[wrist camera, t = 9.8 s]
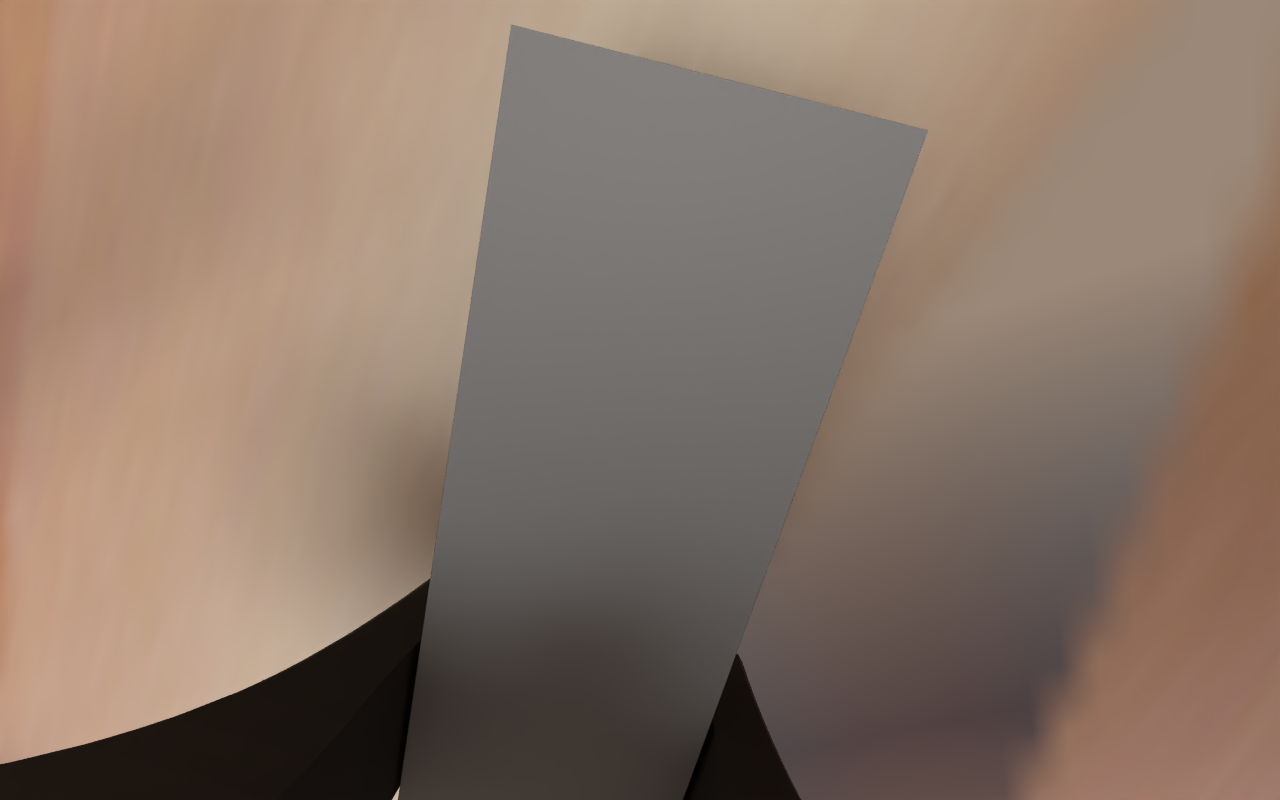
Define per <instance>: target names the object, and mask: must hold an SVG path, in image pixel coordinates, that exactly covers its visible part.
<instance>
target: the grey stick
mask: <svg viewBox="0 0 1280 800" xmlns="http://www.w3.org/2000/svg"><path fill="white" fill-rule="evenodd" d="M927 131H928V130H924V129H920V128H916V127H912V126H909V125H905V124H901V123H897V122H893V121H889V120H885V119H881V118H877V117H873V116H869V115H865V114H861V113H857V112H853V111H849V110H845V109H842V108H838V107H834V106H830V105H826V104H822V103H818V102H814V101H810V100H806V99H802V98H798V97H794V96H790V95H786V94H782V93H778V92H775V91H771V90H767V89H763V88H759V87H755V86H751V85H747V84H743V83H739V82H735V81H731V80H727V79H723V78H719V77H715V76H712V75H708V74H704V73H700V72H696V71H692V70H688V69H684V68H680V67H676V66H672V65H668V64H664V63H660V62H656V61H652V60H648V59H645V58H641V57H637V56H633V55H629V54H625V53H621V52H617V51H613V50H609V49H605V48H601V47H597V46H593V45H589V44H585V43H581V42H578V41H574V40H570V39H566V38H562V37H558V36H554V35H550V34H546V33H542V32H538V31H534V30H530V29H526V28H522V27H518V26H514V25H511V30H510V37H509V44H508V51H507V58H506V65H505V71H504V78H503V85H502V92H501V99H500V106H499V112H498V119H497V126H496V133H495V140H494V147H493V154H492V160H491V167H490V174H489V181H488V188H487V195H486V201H485V208H484V215H483V222H482V229H481V236H480V242H479V249H478V256H477V263H476V270H475V277H474V283H473V290H472V297H471V304H470V311H469V318H468V325H467V331H466V338H465V345H464V352H463V359H462V366H461V372H460V379H459V386H458V393H457V400H456V407H455V413H454V420H453V427H452V434H451V441H450V448H449V455H448V461H447V468H446V475H445V482H444V489H443V496H442V502H441V509H440V516H439V523H438V530H437V537H436V543H435V550H434V557H433V564H432V571H431V578H430V585H429V591H428V598H427V605H426V612H425V619H424V626H423V632H422V639H421V646H420V653H419V660H418V667H417V673H416V680H415V687H414V694H413V701H412V708H411V715H410V721H409V728H408V735H407V742H406V749H405V756H404V762H403V769H402V776H401V783H400V790H399V797H398V800H683V798H684V795H685V792H686V789H687V787H688V784H689V781H690V779H691V776H692V773H693V770H694V768H695V765H696V762H697V759H698V757H699V754H700V751H701V749H702V746H703V743H704V740H705V738H706V735H707V732H708V729H709V727H710V724H711V721H712V718H713V716H714V713H715V710H716V708H717V705H718V702H719V699H720V697H721V694H722V691H723V688H724V686H725V683H726V680H727V678H728V675H729V672H730V669H731V667H732V664H733V661H734V658H735V656H736V653H737V650H738V647H739V645H740V642H741V639H742V637H743V634H744V631H745V628H746V626H747V623H748V620H749V617H750V615H751V612H752V609H753V607H754V604H755V601H756V598H757V596H758V593H759V590H760V587H761V585H762V582H763V579H764V576H765V574H766V571H767V568H768V566H769V563H770V560H771V557H772V555H773V552H774V549H775V546H776V544H777V541H778V538H779V536H780V533H781V530H782V527H783V525H784V522H785V519H786V516H787V514H788V511H789V508H790V505H791V503H792V500H793V497H794V495H795V492H796V489H797V486H798V484H799V481H800V478H801V475H802V473H803V470H804V467H805V465H806V462H807V459H808V456H809V454H810V451H811V448H812V445H813V443H814V440H815V437H816V434H817V432H818V429H819V426H820V424H821V421H822V418H823V415H824V413H825V410H826V407H827V404H828V402H829V399H830V396H831V393H832V391H833V388H834V385H835V383H836V380H837V377H838V374H839V372H840V369H841V366H842V363H843V361H844V358H845V355H846V353H847V350H848V347H849V344H850V342H851V339H852V336H853V333H854V331H855V328H856V325H857V322H858V320H859V317H860V314H861V312H862V309H863V306H864V303H865V301H866V298H867V295H868V292H869V290H870V287H871V284H872V282H873V279H874V276H875V273H876V271H877V268H878V265H879V262H880V260H881V257H882V254H883V251H884V249H885V246H886V243H887V241H888V238H889V235H890V232H891V230H892V227H893V224H894V221H895V219H896V216H897V213H898V211H899V208H900V205H901V202H902V200H903V197H904V194H905V191H906V189H907V186H908V183H909V180H910V178H911V175H912V172H913V170H914V167H915V164H916V161H917V159H918V156H919V153H920V150H921V148H922V145H923V142H924V140H925V137H926V134H927Z"/></svg>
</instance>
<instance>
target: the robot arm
mask: <svg viewBox="0 0 1280 800" xmlns="http://www.w3.org/2000/svg"><path fill="white" fill-rule="evenodd" d="M429 585H430V579H429V580H427V581H426V582H425V583H423V584H422V585H421V586H419V587H418V588H416V589H415V590H414V591H412V592H411V593H409V594H408V595H407V596H405V597H404V598H402V599H401V600H399V601H398V602H397V603H395V604H394V605H392V606H391V607H389V608H388V609H386V610H385V611H383V612H382V613H380V614H379V615H377V616H376V617H374V618H373V619H371V620H370V621H368V622H367V623H365V624H363V625H362V626H360V627H359V628H357V629H356V630H354V631H353V632H351V633H349V634H348V635H346V636H344V637H343V638H341V639H339V640H338V641H336V642H334V643H332V644H331V645H329V646H327V647H325V648H324V649H322V650H320V651H319V652H317V653H315V654H313V655H312V656H310V657H308V658H306V659H305V660H303V661H301V662H299V663H297V664H295V665H293V666H291V667H289V668H288V669H286V670H284V671H282V672H280V673H278V674H276V675H274V676H272V677H269V678H267V679H265V680H263V681H261V682H259V683H257V684H255V685H253V686H250V687H248V688H246V689H244V690H241V691H239V692H237V693H234V694H232V695H229V696H227V697H224V698H221V699H219V700H216V701H214V702H211V703H209V704H206V705H204V706H201V707H198V708H196V709H193V710H191V711H188V712H186V713H183V714H181V715H178V716H175V717H172V718H169V719H166V720H163V721H160V722H157V723H154V724H151V725H148V726H145V727H142V728H139V729H136V730H132V731H129V732H126V733H122V734H119V735H116V736H112V737H109V738H106V739H102V740H99V741H95V742H91V743H88V744H84V745H80V746H76V747H72V748H68V749H64V750H60V751H56V752H51V753H47V754H43V755H39V756H35V757H31V758H27V759H23V760H19V761H14V762H10V763H5V764H0V800H392V799H393V797H394V795H395V794H396V792H397V790H398V788H399V787H400V783H401V776H402V769H403V762H404V756H405V749H406V742H407V735H408V728H409V721H410V715H411V708H412V701H413V694H414V687H415V680H416V673H417V667H418V660H419V653H420V646H421V639H422V632H423V626H424V619H425V612H426V605H427V598H428V591H429ZM683 800H801V799H800V797H799V795H798V793H797V791H796V789H795V787H794V785H793V783H792V782H791V779H790V777H789V775H788V773H787V771H786V769H785V767H784V765H783V763H782V761H781V758H780V756H779V754H778V752H777V749H776V747H775V745H774V743H773V741H772V738H771V736H770V734H769V732H768V730H767V727H766V725H765V722H764V720H763V717H762V715H761V712H760V710H759V707H758V705H757V702H756V700H755V697H754V694H753V692H752V689H751V686H750V683H749V681H748V678H747V675H746V672H745V669H744V666H743V663H742V661H741V659H740V657H739V655H738V654H736V656H735V658H734V661H733V664H732V667H731V669H730V672H729V675H728V678H727V680H726V683H725V686H724V688H723V691H722V694H721V697H720V699H719V702H718V705H717V708H716V710H715V713H714V716H713V718H712V721H711V724H710V727H709V729H708V732H707V735H706V738H705V740H704V743H703V746H702V749H701V751H700V754H699V757H698V759H697V762H696V765H695V768H694V770H693V773H692V776H691V779H690V781H689V784H688V787H687V789H686V792H685V795H684V798H683Z"/></svg>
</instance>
